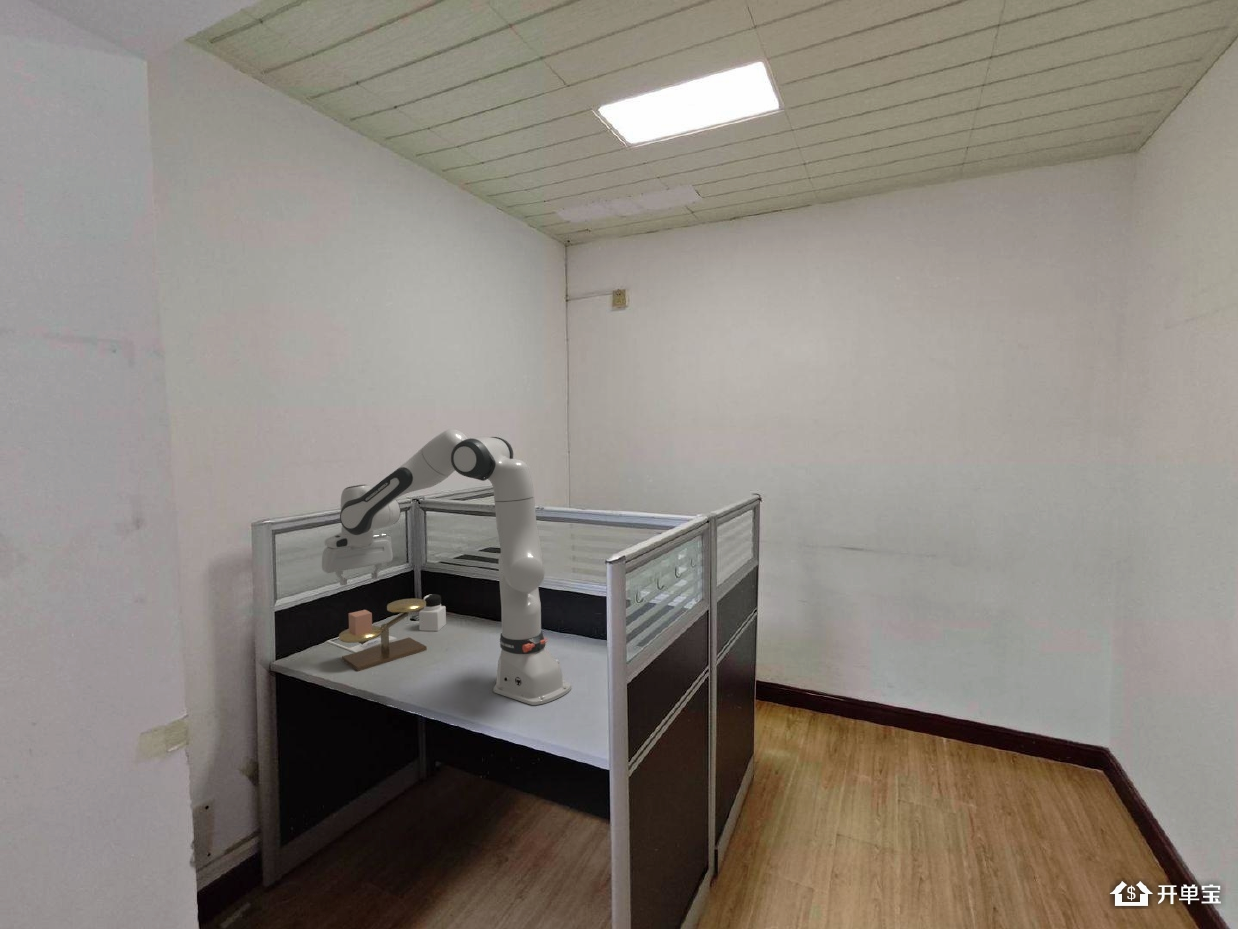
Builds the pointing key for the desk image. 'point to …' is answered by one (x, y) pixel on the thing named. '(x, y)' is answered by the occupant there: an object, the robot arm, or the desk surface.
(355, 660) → the balance
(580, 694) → the desk surface
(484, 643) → the desk surface
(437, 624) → the medicine bottle
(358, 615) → the block
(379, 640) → the photo frame
